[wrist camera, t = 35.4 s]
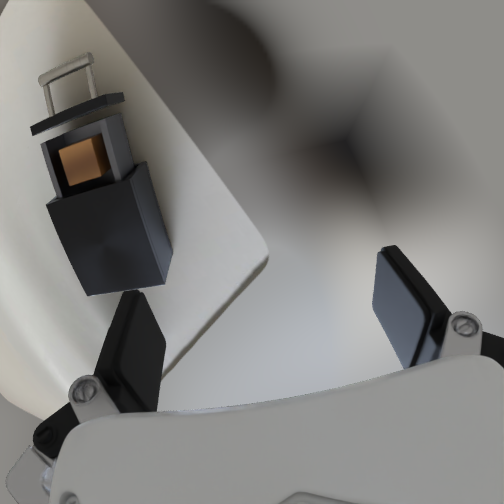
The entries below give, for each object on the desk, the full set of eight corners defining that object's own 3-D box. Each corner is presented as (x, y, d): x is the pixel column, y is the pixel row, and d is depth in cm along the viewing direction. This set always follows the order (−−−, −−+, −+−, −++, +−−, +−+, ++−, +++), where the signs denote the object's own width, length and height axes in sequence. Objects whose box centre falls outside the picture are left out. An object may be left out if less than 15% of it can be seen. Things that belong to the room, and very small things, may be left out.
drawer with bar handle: (45, 79, 27) (20, 82, 22) (114, 49, 27) (95, 44, 22) (79, 204, 37) (61, 222, 32) (146, 186, 36) (134, 203, 31)
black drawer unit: (71, 183, 36) (45, 204, 29) (146, 161, 36) (129, 179, 29) (103, 265, 43) (87, 296, 36) (173, 252, 43) (164, 284, 36)
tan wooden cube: (75, 141, 31) (58, 150, 27) (105, 131, 31) (90, 138, 27) (84, 174, 34) (69, 186, 30) (114, 165, 33) (101, 176, 30)
